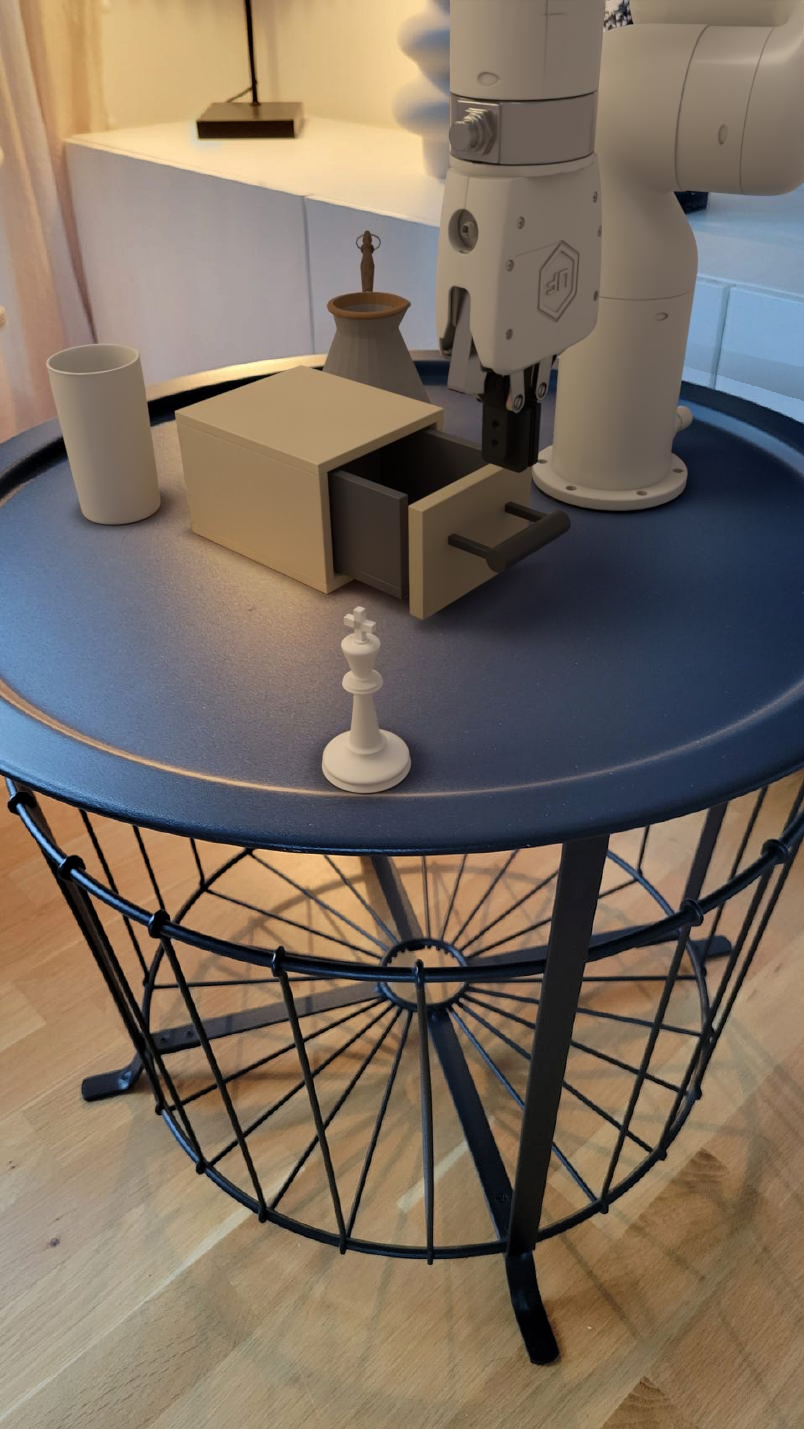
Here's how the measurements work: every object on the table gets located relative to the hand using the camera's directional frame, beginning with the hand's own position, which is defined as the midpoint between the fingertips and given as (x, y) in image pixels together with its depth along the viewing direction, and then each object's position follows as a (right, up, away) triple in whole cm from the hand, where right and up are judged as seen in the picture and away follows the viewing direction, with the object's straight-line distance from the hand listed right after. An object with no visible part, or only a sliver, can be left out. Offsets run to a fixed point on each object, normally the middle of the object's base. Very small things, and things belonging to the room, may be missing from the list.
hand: (509, 462), depth 66 cm
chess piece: (-9, -19, -7) cm, 22 cm away
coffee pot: (-9, +10, +31) cm, 34 cm away
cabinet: (-13, -2, +15) cm, 20 cm away
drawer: (-5, -5, +9) cm, 11 cm away
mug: (-29, +2, +20) cm, 36 cm away
